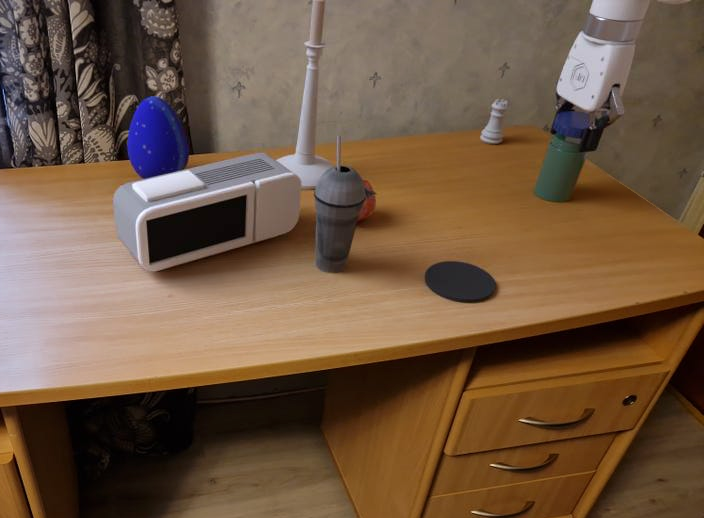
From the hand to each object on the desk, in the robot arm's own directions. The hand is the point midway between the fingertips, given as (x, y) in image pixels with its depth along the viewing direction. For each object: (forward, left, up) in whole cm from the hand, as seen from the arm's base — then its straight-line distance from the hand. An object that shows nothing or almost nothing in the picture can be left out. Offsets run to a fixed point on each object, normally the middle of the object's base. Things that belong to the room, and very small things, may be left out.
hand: (572, 141), depth 114 cm
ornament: (+70, -10, -10) cm, 72 cm away
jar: (0, -1, -10) cm, 10 cm away
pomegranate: (+38, +6, -10) cm, 40 cm away
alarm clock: (+62, +13, -10) cm, 64 cm away
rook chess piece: (+2, -24, -10) cm, 26 cm away
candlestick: (+43, -11, -10) cm, 46 cm away
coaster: (+26, +26, -10) cm, 38 cm away
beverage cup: (+44, +20, -10) cm, 49 cm away
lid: (0, 0, +3) cm, 3 cm away
